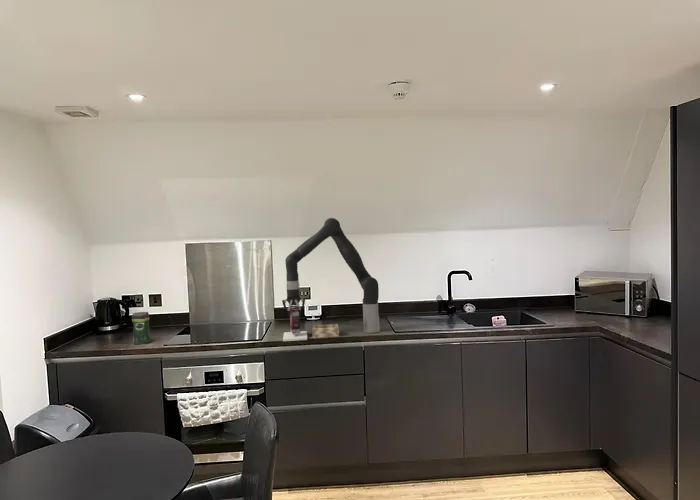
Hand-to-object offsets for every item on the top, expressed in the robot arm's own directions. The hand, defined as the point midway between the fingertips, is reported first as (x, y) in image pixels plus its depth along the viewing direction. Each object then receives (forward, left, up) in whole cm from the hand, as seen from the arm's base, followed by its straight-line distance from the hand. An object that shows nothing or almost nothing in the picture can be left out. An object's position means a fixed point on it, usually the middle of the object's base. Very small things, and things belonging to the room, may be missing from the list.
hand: (294, 316), depth 314 cm
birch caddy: (-18, 0, -12) cm, 22 cm away
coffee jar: (+91, -9, -13) cm, 92 cm away
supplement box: (0, 0, -10) cm, 10 cm away
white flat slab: (0, 0, -12) cm, 12 cm away
